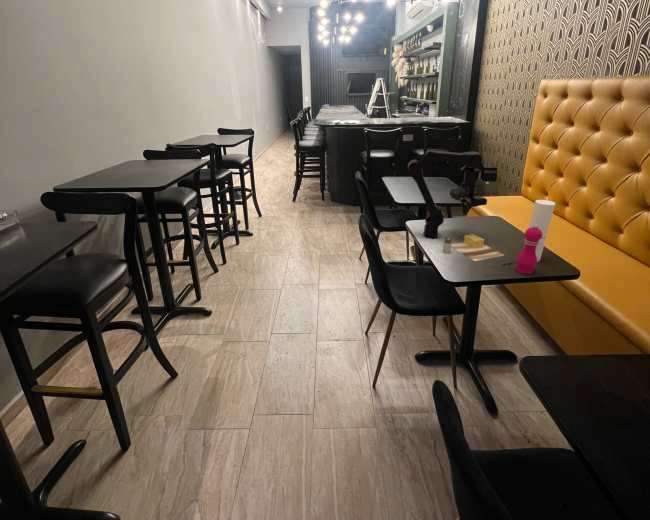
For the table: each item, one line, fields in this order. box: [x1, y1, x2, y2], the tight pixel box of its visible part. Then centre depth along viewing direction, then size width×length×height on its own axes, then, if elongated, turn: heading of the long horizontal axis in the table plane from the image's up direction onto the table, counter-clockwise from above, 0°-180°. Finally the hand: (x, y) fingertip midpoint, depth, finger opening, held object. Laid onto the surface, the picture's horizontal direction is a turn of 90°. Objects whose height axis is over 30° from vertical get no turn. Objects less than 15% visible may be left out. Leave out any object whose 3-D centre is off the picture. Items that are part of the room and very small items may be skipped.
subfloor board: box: [451, 241, 505, 262], centre depth 171 cm, size 18×16×2 cm
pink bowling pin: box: [515, 224, 542, 275], centre depth 152 cm, size 7×7×20 cm
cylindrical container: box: [523, 199, 556, 263], centre depth 162 cm, size 7×7×25 cm
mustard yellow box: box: [463, 233, 485, 248], centre depth 175 cm, size 7×5×4 cm
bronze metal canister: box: [442, 235, 453, 254], centre depth 168 cm, size 3×3×8 cm
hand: (464, 214), depth 178 cm, fingers closed
